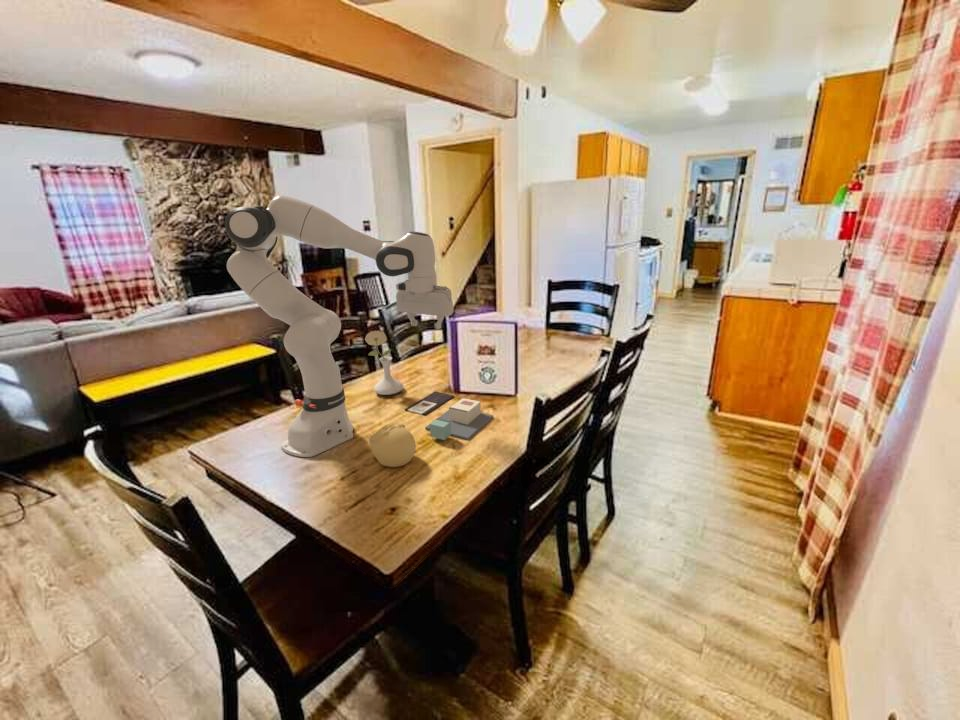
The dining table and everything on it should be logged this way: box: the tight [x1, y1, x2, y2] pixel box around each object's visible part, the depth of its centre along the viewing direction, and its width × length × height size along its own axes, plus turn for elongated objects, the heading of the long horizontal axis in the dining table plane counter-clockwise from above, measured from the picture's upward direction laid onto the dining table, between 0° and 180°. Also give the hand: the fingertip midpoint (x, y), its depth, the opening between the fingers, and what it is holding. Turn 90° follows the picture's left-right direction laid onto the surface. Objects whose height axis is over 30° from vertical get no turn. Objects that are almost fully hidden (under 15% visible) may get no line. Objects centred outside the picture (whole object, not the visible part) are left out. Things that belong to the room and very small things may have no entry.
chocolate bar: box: [404, 391, 455, 417], centre depth 161 cm, size 9×1×18 cm
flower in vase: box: [364, 330, 404, 396], centre depth 168 cm, size 13×11×25 cm
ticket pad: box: [425, 397, 494, 441], centre depth 144 cm, size 17×16×5 cm
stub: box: [429, 417, 451, 441], centre depth 135 cm, size 4×5×4 cm
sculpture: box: [368, 423, 417, 468], centre depth 123 cm, size 12×12×11 cm
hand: (426, 327), depth 143 cm, fingers open, 8 cm apart
